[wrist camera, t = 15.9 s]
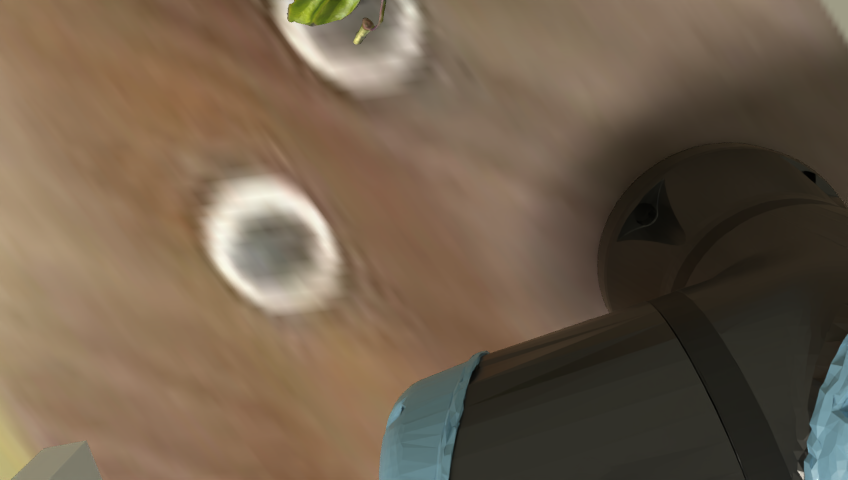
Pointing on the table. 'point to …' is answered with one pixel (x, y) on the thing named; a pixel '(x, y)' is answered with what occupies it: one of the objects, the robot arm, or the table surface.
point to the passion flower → (330, 14)
